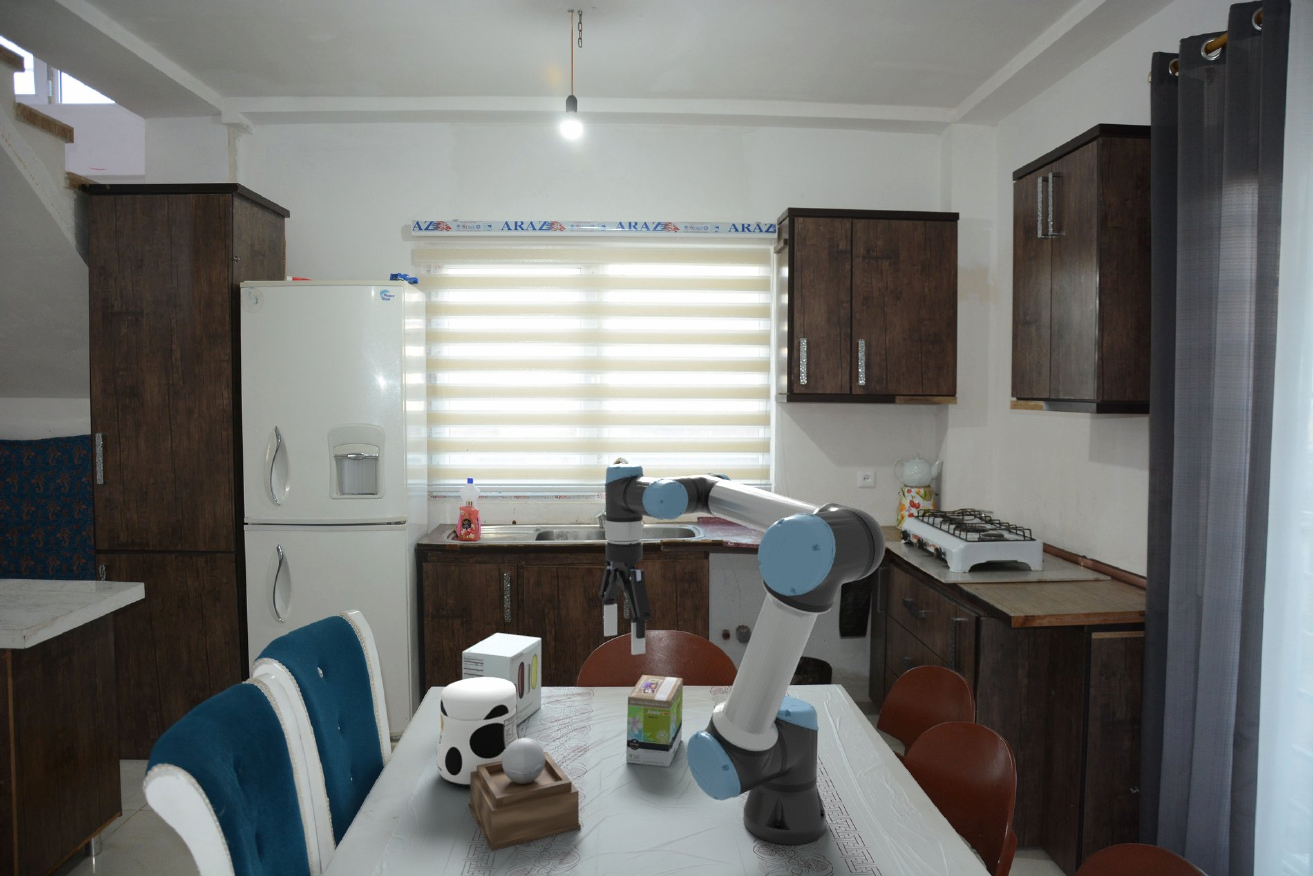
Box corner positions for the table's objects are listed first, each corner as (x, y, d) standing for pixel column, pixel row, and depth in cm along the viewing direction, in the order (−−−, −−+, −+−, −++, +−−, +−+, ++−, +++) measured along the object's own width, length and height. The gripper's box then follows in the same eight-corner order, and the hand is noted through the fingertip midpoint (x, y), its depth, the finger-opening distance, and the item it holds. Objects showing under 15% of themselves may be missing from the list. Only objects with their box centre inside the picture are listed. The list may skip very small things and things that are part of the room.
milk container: (432, 763, 175) (432, 681, 174) (513, 751, 181) (512, 671, 180) (441, 800, 159) (440, 710, 158) (529, 786, 165) (528, 699, 164)
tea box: (671, 768, 173) (671, 700, 172) (625, 763, 175) (625, 696, 174) (682, 739, 188) (683, 676, 187) (640, 735, 190) (640, 673, 189)
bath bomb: (553, 782, 152) (553, 740, 151) (517, 796, 146) (517, 753, 146) (529, 767, 158) (529, 727, 157) (493, 781, 152) (493, 739, 152)
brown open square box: (580, 828, 149) (580, 783, 148) (491, 851, 141) (491, 803, 141) (550, 789, 163) (550, 747, 163) (468, 807, 156) (468, 764, 156)
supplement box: (510, 733, 190) (510, 657, 189) (461, 726, 194) (460, 651, 193) (543, 706, 207) (543, 636, 206) (496, 700, 211) (496, 631, 210)
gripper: (669, 549, 155) (668, 659, 156) (616, 530, 177) (615, 626, 178) (633, 552, 151) (633, 664, 152) (583, 532, 174) (584, 630, 175)
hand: (624, 644), depth 165 cm, fingers open, 13 cm apart
